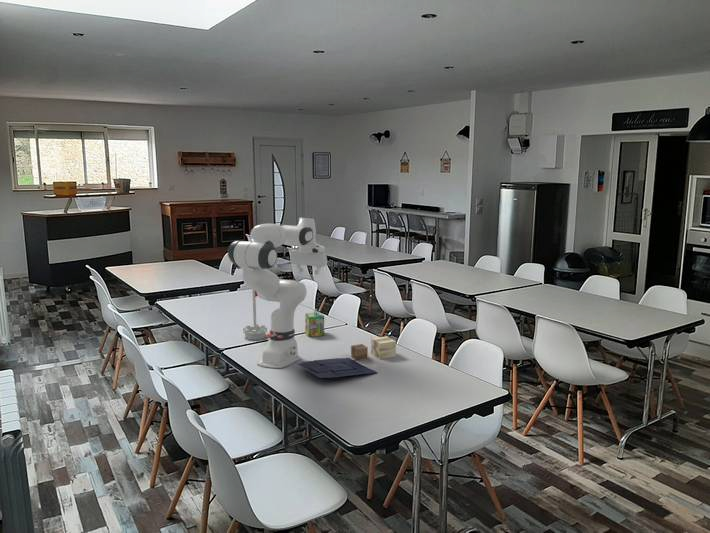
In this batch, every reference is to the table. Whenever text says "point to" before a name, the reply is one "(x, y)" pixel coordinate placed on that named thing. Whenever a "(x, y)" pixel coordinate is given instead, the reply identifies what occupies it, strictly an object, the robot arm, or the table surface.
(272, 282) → the robot arm
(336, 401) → the table surface
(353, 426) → the table surface
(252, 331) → the flag stand
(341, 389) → the table surface
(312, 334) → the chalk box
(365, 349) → the walnut cube
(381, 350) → the beech block
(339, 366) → the folded navy cloth
